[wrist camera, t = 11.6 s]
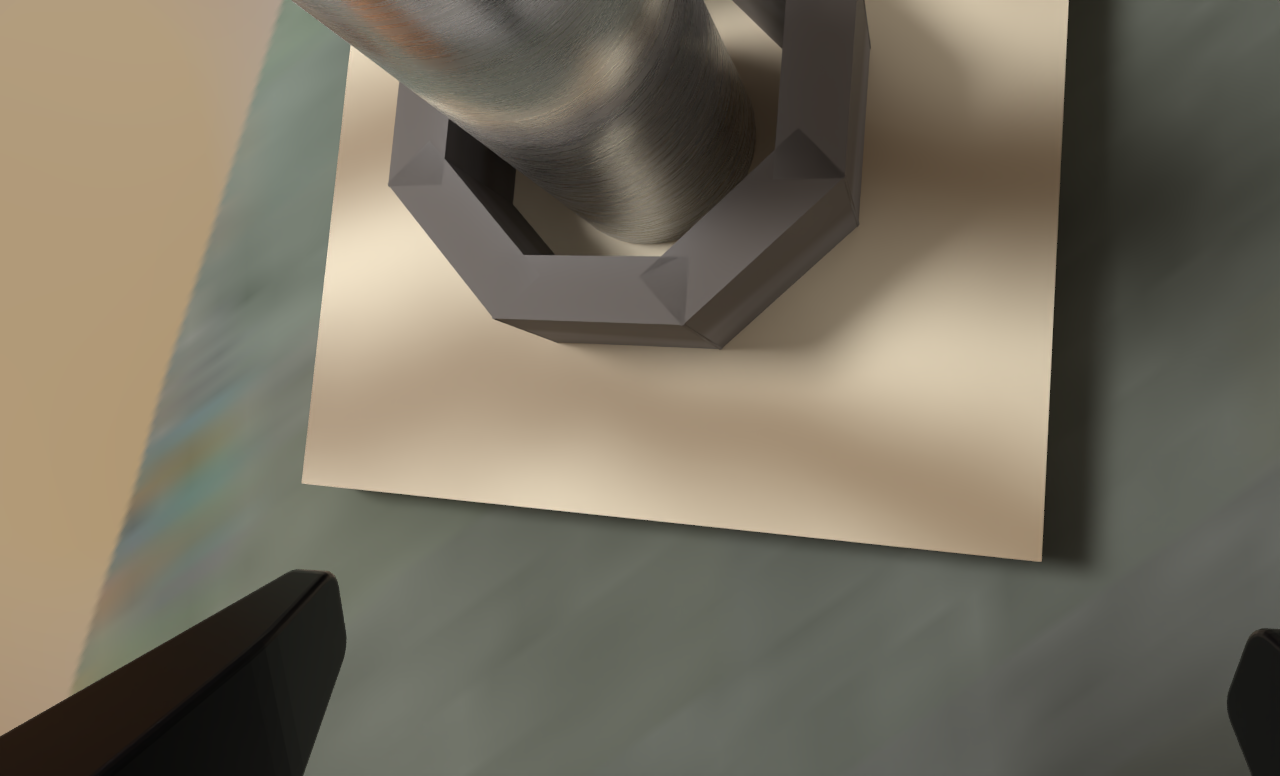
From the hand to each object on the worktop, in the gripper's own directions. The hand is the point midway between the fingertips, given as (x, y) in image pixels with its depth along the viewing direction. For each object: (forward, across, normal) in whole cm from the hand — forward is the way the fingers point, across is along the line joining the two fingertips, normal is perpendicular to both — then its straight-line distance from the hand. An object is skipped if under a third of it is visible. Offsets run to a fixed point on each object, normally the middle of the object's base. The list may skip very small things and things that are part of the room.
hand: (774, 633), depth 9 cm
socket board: (+14, +2, -2) cm, 14 cm away
